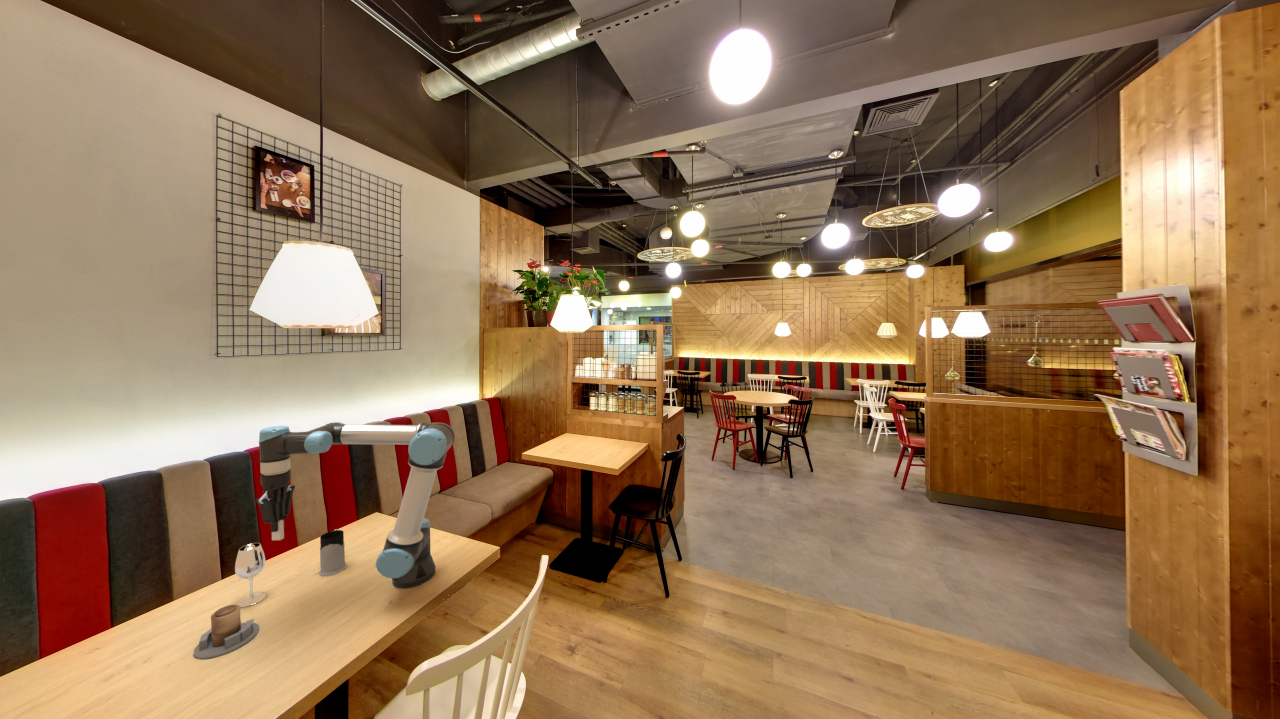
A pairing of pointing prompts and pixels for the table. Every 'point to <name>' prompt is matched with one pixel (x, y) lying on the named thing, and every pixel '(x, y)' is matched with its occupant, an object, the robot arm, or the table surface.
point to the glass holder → (332, 553)
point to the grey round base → (226, 641)
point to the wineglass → (250, 570)
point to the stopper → (225, 624)
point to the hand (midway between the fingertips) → (278, 539)
